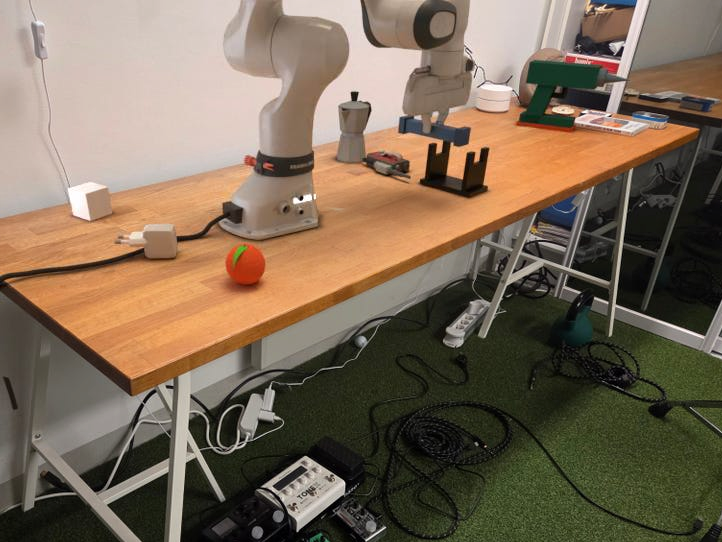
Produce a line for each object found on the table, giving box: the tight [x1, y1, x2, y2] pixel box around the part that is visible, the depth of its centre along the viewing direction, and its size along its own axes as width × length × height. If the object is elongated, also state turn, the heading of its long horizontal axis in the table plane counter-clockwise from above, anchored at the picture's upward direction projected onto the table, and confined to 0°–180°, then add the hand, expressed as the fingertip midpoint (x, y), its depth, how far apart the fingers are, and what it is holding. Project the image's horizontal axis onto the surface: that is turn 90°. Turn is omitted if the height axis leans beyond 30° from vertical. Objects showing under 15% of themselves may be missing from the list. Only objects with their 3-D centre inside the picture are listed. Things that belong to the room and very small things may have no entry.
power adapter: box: [114, 223, 178, 259], centre depth 115 cm, size 11×5×6 cm, turn 93°
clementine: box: [225, 243, 266, 285], centre depth 105 cm, size 8×7×7 cm
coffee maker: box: [336, 90, 373, 164], centre depth 170 cm, size 15×9×18 cm, turn 143°
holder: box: [418, 140, 490, 199], centre depth 151 cm, size 8×15×10 cm, turn 44°
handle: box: [397, 115, 472, 148], centre depth 138 cm, size 4×17×4 cm, turn 43°
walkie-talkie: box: [362, 150, 412, 180], centre depth 163 cm, size 9×4×20 cm
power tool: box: [515, 59, 632, 133], centre depth 202 cm, size 32×7×20 cm, turn 58°
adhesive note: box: [67, 181, 113, 222], centre depth 134 cm, size 6×6×6 cm
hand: (433, 131), depth 138 cm, fingers closed on handle, 2 cm apart
